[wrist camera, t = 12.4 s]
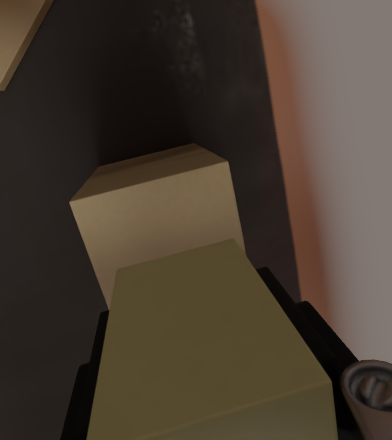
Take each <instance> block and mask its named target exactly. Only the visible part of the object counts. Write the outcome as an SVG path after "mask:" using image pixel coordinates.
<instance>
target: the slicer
mask: <svg viewBox="0 0 392 440" xmlns="http://www.w3.org/2000/svg"><path fill="white" fill-rule="evenodd" d="M53 1H54V0H0V90H1V91H5V89H6V87H7V85H8V83H9V81H10V80H11V78H12V76H13V74H14V72H15V70H16V69H17V67H18V65H19V63H20V61H21V59H22V58H23V56H24V54H25V52H26V50H27V48H28V47H29V45H30V43H31V41H32V39H33V37H34V36H35V34H36V32H37V30H38V28H39V26H40V25H41V23H42V21H43V19H44V17H45V15H46V14H47V12H48V10H49V8H50V6H51V4H52V3H53Z"/></svg>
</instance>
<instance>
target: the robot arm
mask: <svg viewBox="0 0 392 440" xmlns="http://www.w3.org/2000/svg"><path fill="white" fill-rule="evenodd" d="M256 271H257V273H258V274H259V276H260V277H261V279H262V280H263V282H264V283H265V285H266V286H267V288H268V289H269V290H270V292H271V293H272V295H273V296H274V298H275V299H276V301H277V302H278V304H279V305H280V306H281V308H282V309H283V311H284V312H285V314H286V315H287V317H288V318H289V320H290V321H291V323H292V324H293V325H294V327H295V328H296V330H297V331H298V333H299V334H300V336H301V337H302V339H303V340H304V342H305V343H306V344H307V346H308V347H309V349H310V350H311V352H312V353H313V355H314V356H315V358H316V359H317V361H318V362H319V363H320V365H321V366H322V368H323V369H324V371H325V372H326V374H327V375H328V377H329V378H330V380H331V381H332V389H333V398H334V407H335V416H336V425H337V434H338V440H392V364H391V363H388V362H384V361H379V360H361V361H359V360H358V359H357V358H356V357H355V356H354V355H353V353H352V352H351V351H350V350H349V349H348V348H347V347H346V345H345V344H344V343H343V342H342V340H341V339H340V338H339V337H338V336H337V335H336V333H335V332H334V331H333V330H332V329H331V327H330V326H329V325H328V324H327V323H326V322H325V320H324V319H323V318H322V317H321V316H320V315H319V313H318V312H317V311H316V310H315V309H314V307H313V306H312V305H311V304H310V303H309V302H308V301H303V302H299V303H296V304H295V302H294V301H293V300H292V298H291V297H290V296H289V295H288V293H287V292H286V291H285V289H284V288H283V287H282V285H281V284H280V283H279V282H278V280H277V279H276V278H275V276H274V275H273V274H272V273H271V271H270V270H269V269H268V268H267V267H263V268H259V269H256ZM109 311H110V310H108V311H104V312H101V314H100V317H99V322H98V326H97V331H96V336H95V340H94V345H93V349H92V354H91V358H90V362H89V363H86V364H82V365H81V366H80V367H79V369H78V372H77V376H76V380H75V384H74V388H73V392H72V396H71V400H70V403H69V407H68V411H67V415H66V419H65V423H64V427H63V431H62V435H61V438H60V440H87V434H88V428H89V423H90V417H91V412H92V406H93V401H94V395H95V389H96V384H97V378H98V373H99V367H100V361H101V356H102V350H103V345H104V339H105V333H106V328H107V322H108V317H109Z"/></svg>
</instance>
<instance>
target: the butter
mask: <svg viewBox="0 0 392 440" xmlns="http://www.w3.org/2000/svg"><path fill="white" fill-rule="evenodd" d="M87 440H338V434H337V425H336V416H335V407H334V398H333V389H332V381H331V380H330V378H329V377H328V375H327V374H326V372H325V371H324V369H323V368H322V366H321V365H320V363H319V362H318V361H317V359H316V358H315V356H314V355H313V353H312V352H311V350H310V349H309V347H308V346H307V344H306V343H305V342H304V340H303V339H302V337H301V336H300V334H299V333H298V331H297V330H296V328H295V327H294V325H293V324H292V323H291V321H290V320H289V318H288V317H287V315H286V314H285V312H284V311H283V309H282V308H281V306H280V305H279V304H278V302H277V301H276V299H275V298H274V296H273V295H272V293H271V292H270V290H269V289H268V288H267V286H266V285H265V283H264V282H263V280H262V279H261V277H260V276H259V274H258V273H257V271H256V270H255V269H254V267H253V266H252V264H251V263H250V261H249V260H248V258H247V257H246V255H245V254H244V252H243V251H242V250H241V248H240V247H239V245H238V244H237V242H236V241H235V239H234V238H231V239H228V240H224V241H220V242H216V243H213V244H209V245H205V246H202V247H198V248H194V249H190V250H187V251H183V252H179V253H176V254H172V255H168V256H164V257H161V258H157V259H153V260H150V261H146V262H142V263H138V264H135V265H131V266H127V267H124V268H120V269H117V272H116V278H115V283H114V289H113V294H112V300H111V305H110V311H109V317H108V322H107V328H106V333H105V339H104V345H103V350H102V356H101V361H100V367H99V373H98V378H97V384H96V389H95V395H94V401H93V406H92V412H91V417H90V423H89V428H88V434H87Z"/></svg>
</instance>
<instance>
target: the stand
mask: <svg viewBox="0 0 392 440" xmlns="http://www.w3.org/2000/svg"><path fill="white" fill-rule="evenodd" d="M69 203H70V206H71V208H72V211H73V214H74V217H75V219H76V222H77V225H78V227H79V230H80V233H81V236H82V238H83V241H84V244H85V246H86V249H87V252H88V255H89V257H90V260H91V263H92V265H93V268H94V271H95V274H96V276H97V279H98V282H99V284H100V287H101V290H102V293H103V295H104V298H105V301H106V303H107V306H108V309H109V310H110V305H111V300H112V294H113V289H114V283H115V278H116V272H117V269H120V268H124V267H127V266H131V265H135V264H138V263H142V262H146V261H150V260H153V259H157V258H161V257H164V256H168V255H172V254H176V253H179V252H183V251H187V250H190V249H194V248H198V247H202V246H205V245H209V244H213V243H216V242H220V241H224V240H228V239H231V238H234V239H235V241H236V242H237V244H238V245H239V247H240V248H241V250H242V251H243V252H244V254H245V255H246V250H245V245H244V240H243V235H242V230H241V225H240V220H239V214H238V209H237V204H236V199H235V194H234V189H233V184H232V179H231V173H230V168H229V163H228V161H227V160H225V159H223V158H221V157H219V156H217V155H216V154H214V153H212V152H210V151H208V150H206V149H204V148H203V147H201V146H199V145H197V144H195V143H192V144H188V145H184V146H180V147H176V148H172V149H168V150H164V151H160V152H156V153H152V154H148V155H144V156H140V157H136V158H132V159H128V160H124V161H120V162H116V163H112V164H108V165H104V166H100V167H98V168H97V169H96V171H95V172H94V173H93V174H92V175H91V177H90V178H89V179H88V180H87V181H86V182H85V184H84V185H83V186H82V187H81V188H80V190H79V191H78V192H77V193H76V194H75V196H74V197H73V198H72V199H71V200H70V202H69ZM246 257H247V255H246Z"/></svg>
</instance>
